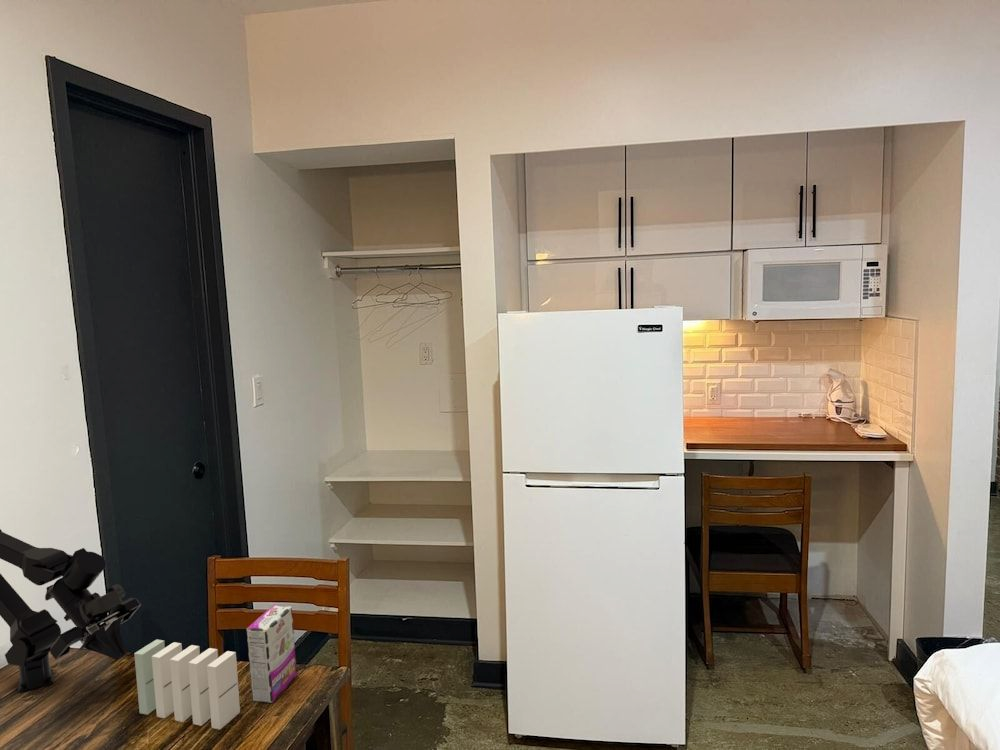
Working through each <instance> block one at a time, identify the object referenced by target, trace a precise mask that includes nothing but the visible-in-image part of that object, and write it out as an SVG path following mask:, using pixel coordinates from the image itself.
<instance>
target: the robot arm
mask: <svg viewBox="0 0 1000 750" xmlns="http://www.w3.org/2000/svg"><path fill="white" fill-rule="evenodd" d="M0 560H2V561H5V562H7V563H9V564H11V565H13V566H15V567H17V568H19V569H21V571H22V574H23V577H24V578H26V579H27V580H28V581H30V582H31V583H33V584H34V585H36V586H43V585H46V584H48V583H51V582H53V581H55V580H56V581H55V582H54V583H53V584H50V585H49V586H47V587H46V592H45V595H44V600H45V601H50V600H51V599H54V601H55V602H56V603H57V604H58V606H60V608H61V609H62V610H63V612H64V613H65V615H64V617H63V619H64V620H65V622H68V621H70V620H71V622H72V623H73V624H74V625H75V626H74V627H72V628H70V629H68V630H66V631H64V632H62V629H61V627H60V625H59V623H58V620H57V619H56V618H54V616H52V615H51V613H50V611H48V610H47V609H44V608H43V609H42V610H40V611H35V610H33V609H32V608H31V607H30V606H29V604H27V603H26V602H25V600H24V599H23V598H22V597H21V596H20V595H19V593H18V592H17V591H16V590H15V588H14V587H13V586H12V585H11V583H9V582H8V581H7V580H6V578H5V577H4V576H3V575H2V573H0V617H1V618H2V620H4V622H5V623H6V624H7V625H8V627H9V643H11V644H12V645H11V646H10V648H9V649H8V650H7V652H6V653H5V654H4V657H5V660H6V662H7V664H8V665H12V666H18V672H19V678H18V687H17V692H18V693H22V691H23V692H26V691H30V690H33V689H37V688H40V687H45V686H48V685H52V684H54V669H51V664H50V663H51V662H50V654H51V656H52V657H53V658H54V660H60V658H63V657H64V656H66V655H68V654H70V650H71V646H72V645H74V644H76V643H78V642H80V643H81V644H82V645H81V646H80V647H79V649H80V650H81V651H83V650H88V651H92V652H94V653H98V654H102V655H104V656H105V657H108V658H112V659H114V660H116V661H119V660H121V659H122V658H124V657H125V656H126V654H127V652H126V648H125V645H124V642H123V641H124V640H123V639H122V634H121V625H122V624H123V623H125V622H127V621H128V620H130V619H131V618H132V616H133V615H134V614H135V613H136V612H137V611H138V609H139V608H140V607H141V606H142V604H141V603H140V601H139V600H138V599H137V598H136V597H128V599H125V600H124V601H123V600H122V599H123V598H124V597H126V591H125V589H124V588H123V587H122V586H121V584H119V583H116V584H114V585H112V586H110V587H108V588H107V591H106V592H107V593H105V594H103V595H100V594H99V593H98V592H97V591H96V592H94V593H93V592H92V593H91V591H89V589H88V588H90V587H91V586H92V585H93V583H94V582H95V581H96V580H97V578H98V577H99V576H100V575H101V573H103V571H104V570H105V568H106V560H105V558H104V557H103V556H102V555H100V554H99V553H96V552H94V551H87V550H86V549H85V547H83V548H79V549H78V550H75V551H74V553H73V554H72V555H71V554H69V553H67V551H64V550H62V549H58V548H53V547H36V546H34V545H32V544H29V543H27V542H25V541H24V540H21V539H19V538H17V537H15V536H12V535H10V534H8V533H6V532H3V531H2V529H1V528H0ZM113 607H115V608H113ZM29 689H30V690H29Z"/></svg>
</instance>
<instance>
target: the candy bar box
mask: <svg viewBox="0 0 1000 750" xmlns="http://www.w3.org/2000/svg"><path fill="white" fill-rule="evenodd" d="M246 639H247V651H248V662H249V672H250V674H249V675H250V684H251V697H252V702H257V703H267V704H268V703H269V704H272V703H274V702H275V701H276V700H277V698H278V697H279V696H281V694H282V692H284V691H285V689H286V688H287V687H288V686H289V685H290V684H291V683H292V681H293V680H294V679H295V678H296V677H297V676H298V673H297V671H298V668H297V659H296V658H297V657H296V646H295V645H296V644H295V632H294V619H293V607H292V606H290V605H289V606H287V605H277V604H274V605H271V607H269V608H268V609H267V610H266V611H265V612H263V613H262V614H261V616H259V617H258V618H257V619H256V620H255V621H253V623H251V624H250V625H249V626H248V627H247V628H246Z"/></svg>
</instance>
